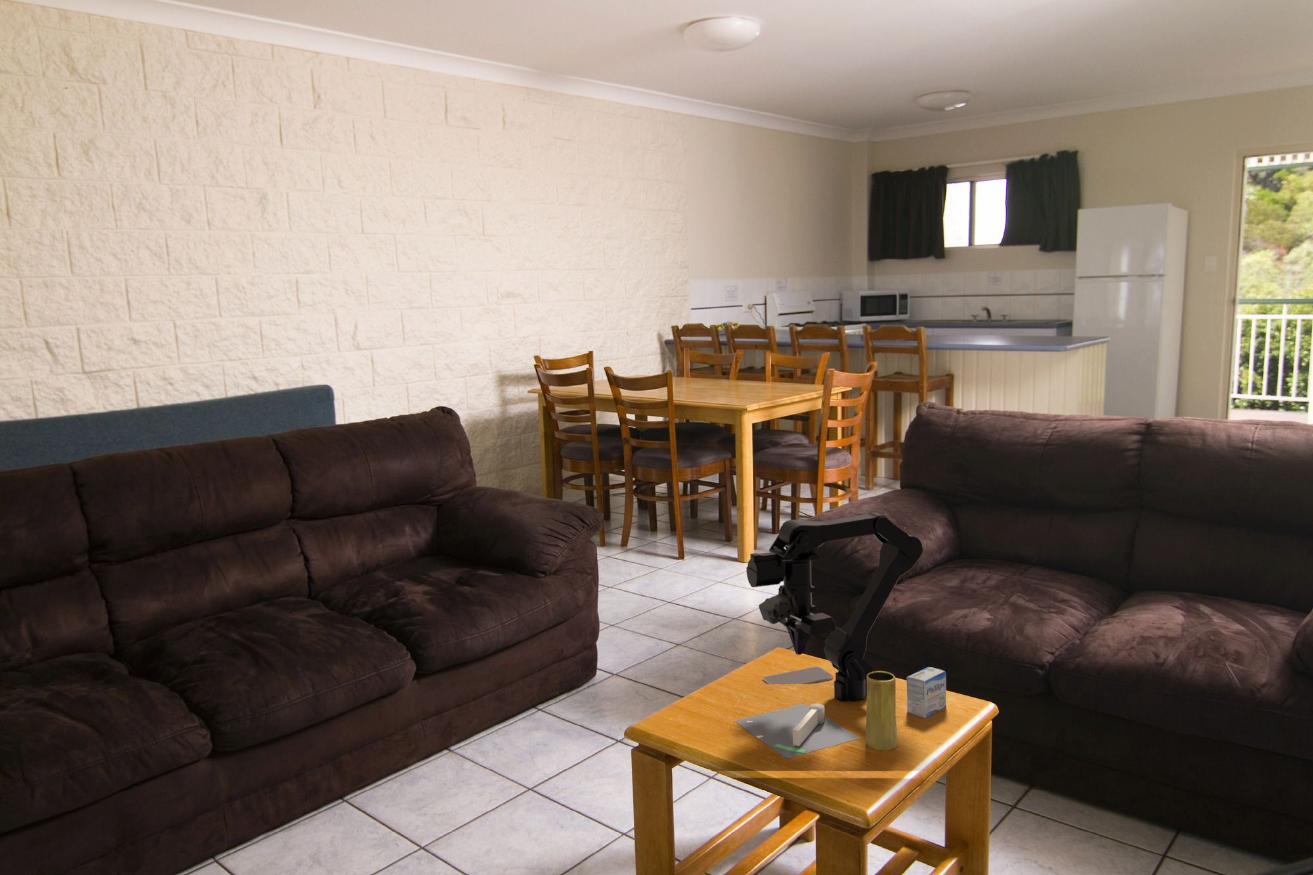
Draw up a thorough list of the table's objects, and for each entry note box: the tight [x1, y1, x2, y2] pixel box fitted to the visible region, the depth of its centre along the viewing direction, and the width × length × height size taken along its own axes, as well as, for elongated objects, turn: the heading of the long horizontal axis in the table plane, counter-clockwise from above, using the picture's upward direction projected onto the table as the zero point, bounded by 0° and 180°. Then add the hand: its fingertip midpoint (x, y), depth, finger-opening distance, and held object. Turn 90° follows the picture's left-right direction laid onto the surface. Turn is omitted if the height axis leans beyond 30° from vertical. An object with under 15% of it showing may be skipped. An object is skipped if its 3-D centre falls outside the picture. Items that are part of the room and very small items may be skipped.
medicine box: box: [906, 666, 947, 719], centre depth 188 cm, size 8×4×9 cm, turn 131°
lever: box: [793, 703, 826, 746], centre depth 179 cm, size 14×3×3 cm, turn 151°
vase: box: [865, 670, 899, 751], centre depth 173 cm, size 6×6×14 cm
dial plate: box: [734, 703, 861, 760], centre depth 181 cm, size 17×19×1 cm
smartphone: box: [762, 665, 834, 685], centre depth 209 cm, size 7×1×15 cm
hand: (798, 654), depth 191 cm, fingers closed
